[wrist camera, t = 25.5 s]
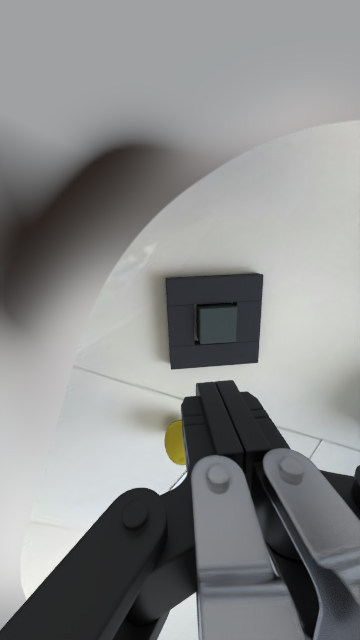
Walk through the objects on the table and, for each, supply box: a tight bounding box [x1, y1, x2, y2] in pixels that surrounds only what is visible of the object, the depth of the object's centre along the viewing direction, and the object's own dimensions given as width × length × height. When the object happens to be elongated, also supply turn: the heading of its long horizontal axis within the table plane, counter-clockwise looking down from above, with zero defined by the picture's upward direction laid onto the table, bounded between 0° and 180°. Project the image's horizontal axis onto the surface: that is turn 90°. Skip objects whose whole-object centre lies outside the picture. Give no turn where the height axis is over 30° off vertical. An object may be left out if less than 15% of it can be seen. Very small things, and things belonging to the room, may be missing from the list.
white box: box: [171, 472, 187, 490], centre depth 47 cm, size 8×8×1 cm
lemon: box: [165, 420, 186, 465], centre depth 39 cm, size 6×6×8 cm
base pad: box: [166, 273, 263, 369], centre depth 37 cm, size 14×14×2 cm
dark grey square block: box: [197, 303, 237, 344], centre depth 36 cm, size 5×5×3 cm
